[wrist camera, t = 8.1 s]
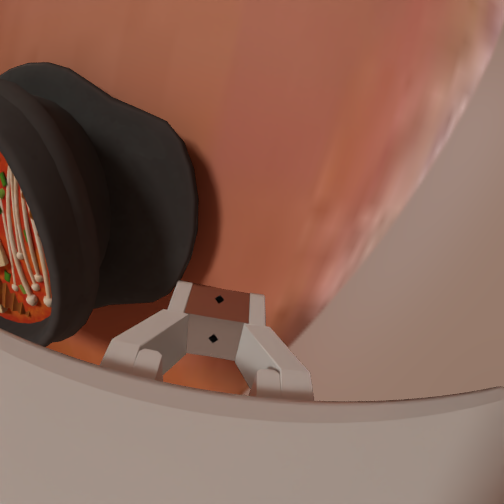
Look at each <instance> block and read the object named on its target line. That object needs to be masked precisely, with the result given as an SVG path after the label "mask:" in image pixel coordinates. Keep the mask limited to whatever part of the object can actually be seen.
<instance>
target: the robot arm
mask: <svg viewBox="0 0 504 504" xmlns="http://www.w3.org/2000/svg"><path fill="white" fill-rule="evenodd" d="M186 353H191V354H197V355H204V356H211V357H216V358H221V359H227V360H233V361H235V363H236V365H237V367H238V368H239V370H240V372H241V374H242V375H243V377H244V379H245V380H246V382H247V384H248V386H249V387H250V389H251V390H250V393H249V396H246V395H237V394H230V393H223V392H216V391H209V390H203V389H197V388H192V387H186V386H181V385H176V384H171V383H166V382H163V375H164V374H165V373H166V372H167V371H168V370H169V369H170V368H171V367H172V366H173V365H175V364H176V363H177V362H178V361H179V360H180V359H181V358H182V357H183V356H184V355H186ZM0 504H504V387H493V388H488V389H483V390H478V391H472V392H467V393H460V394H453V395H445V396H437V397H428V398H417V399H405V400H389V401H358V402H336V401H314V396H313V389H312V382H311V375H310V372H309V371H308V369H307V368H306V367H305V366H304V365H303V364H302V363H301V362H300V361H299V359H298V358H297V357H296V356H295V355H294V354H293V353H292V352H291V350H290V349H289V348H288V347H287V346H286V345H285V344H284V343H283V341H282V340H281V339H280V338H279V337H278V336H277V335H276V333H275V332H274V331H273V330H272V329H271V328H270V327H266V315H265V296H264V295H263V294H256V293H245V292H239V291H232V290H226V289H221V288H216V287H211V286H206V285H201V284H196V283H191V282H185V281H180V280H179V281H178V282H177V285H176V287H175V290H174V293H173V295H172V298H171V301H170V304H169V306H168V309H167V310H166V309H162V310H161V311H159V312H157V313H156V314H154V315H152V316H151V317H149V318H147V319H145V320H144V321H142V322H140V323H139V324H137V325H135V326H133V327H132V328H130V329H128V330H127V331H125V332H123V333H122V334H120V335H118V336H116V337H115V338H113V339H112V340H111V342H110V344H109V346H108V349H107V351H106V353H105V355H104V357H103V359H102V361H101V364H100V366H99V365H96V364H92V363H89V362H86V361H83V360H80V359H77V358H74V357H71V356H68V355H65V354H62V353H59V352H57V351H54V350H51V349H48V348H46V347H43V346H41V345H38V344H36V343H33V342H31V341H28V340H26V339H23V338H21V337H19V336H16V335H14V334H12V333H9V332H7V331H5V330H3V329H1V328H0Z"/></svg>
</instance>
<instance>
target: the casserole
mask: <svg viewBox="0 0 504 504" xmlns="http://www.w3.org/2000/svg"><path fill="white" fill-rule="evenodd" d="M198 201H199V199H198V193H197V186H196V180H195V173H194V168H193V165H192V162H191V160H190V157H189V154H188V151H187V149H186V146H185V143H184V141H183V140H182V139H181V138H180V137H179V135H178V134H177V133H176V132H175V131H174V129H173V128H172V127H171V126H170V125H169V124H168V122H167V121H165V120H163V119H161V118H159V117H156V116H154V115H152V114H150V113H148V112H145V111H143V110H141V109H139V108H136V107H134V106H132V105H129V104H127V103H125V102H122V101H120V100H118V99H115V98H113V97H111V96H110V95H108V94H107V93H105V92H104V91H102V90H101V89H100V88H98V87H97V86H95V85H94V84H92V83H91V82H89V81H88V80H86V79H85V78H83V77H82V76H80V75H79V74H77V73H76V72H74V71H73V70H71V69H70V68H66V67H63V66H60V65H56V64H53V63H49V62H42V63H27V64H23V65H20V66H17V67H14V68H12V69H9V70H8V71H6V72H5V73H3V74H2V75H0V328H1V329H3V330H5V331H7V332H9V333H12V334H14V335H16V336H19V337H21V338H23V339H26V340H28V341H31V342H33V343H36V344H38V345H41V346H43V347H46V346H48V345H49V344H50V343H52V342H58V341H62V340H64V339H66V338H68V337H70V336H73V335H74V334H75V333H76V332H77V331H78V330H79V329H80V328H81V327H82V326H83V325H85V324H86V322H87V320H88V318H89V316H90V314H91V312H92V310H93V309H95V308H99V307H103V306H107V305H115V304H133V303H150V302H154V301H156V300H158V299H160V298H162V297H164V296H166V295H168V294H169V293H170V292H171V291H172V289H173V288H174V287H175V286H176V284H177V282H178V281H179V280H181V278H182V276H183V274H184V272H185V269H186V267H187V265H188V263H189V261H190V259H191V256H192V252H193V247H194V243H195V239H196V235H197V231H198Z"/></svg>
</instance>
